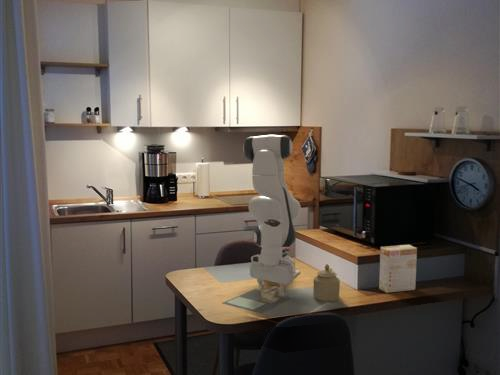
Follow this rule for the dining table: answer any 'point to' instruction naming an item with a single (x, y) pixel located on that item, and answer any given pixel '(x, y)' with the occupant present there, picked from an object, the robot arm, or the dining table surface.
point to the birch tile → (271, 295)
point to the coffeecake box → (397, 268)
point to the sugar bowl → (326, 285)
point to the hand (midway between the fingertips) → (270, 291)
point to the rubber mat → (254, 301)
